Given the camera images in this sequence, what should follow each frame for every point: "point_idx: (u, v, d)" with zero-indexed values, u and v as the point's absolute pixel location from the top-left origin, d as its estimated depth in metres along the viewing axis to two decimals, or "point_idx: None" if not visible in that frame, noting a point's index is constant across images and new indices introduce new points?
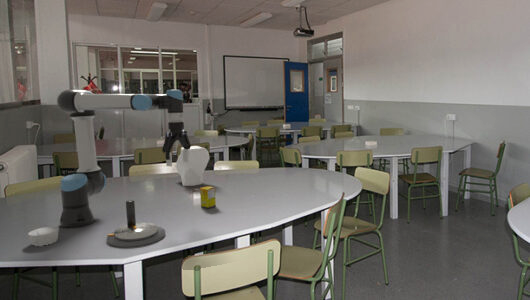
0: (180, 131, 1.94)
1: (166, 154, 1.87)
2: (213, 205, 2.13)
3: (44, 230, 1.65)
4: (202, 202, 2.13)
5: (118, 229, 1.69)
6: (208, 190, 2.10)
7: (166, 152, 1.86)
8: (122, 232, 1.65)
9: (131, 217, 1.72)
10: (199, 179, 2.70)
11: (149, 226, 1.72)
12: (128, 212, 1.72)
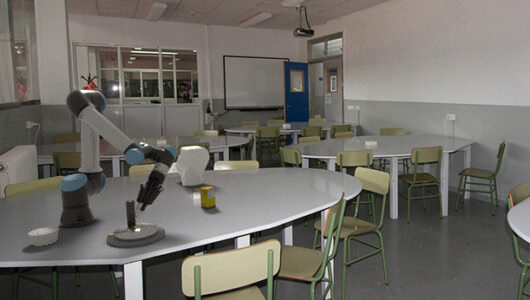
0: (157, 180, 1.85)
1: None
2: (213, 205, 2.13)
3: (44, 230, 1.65)
4: (202, 202, 2.13)
5: (118, 229, 1.69)
6: (208, 190, 2.10)
7: (138, 202, 1.81)
8: (122, 232, 1.65)
9: (131, 217, 1.72)
10: (199, 179, 2.70)
11: (149, 226, 1.72)
12: (128, 212, 1.72)
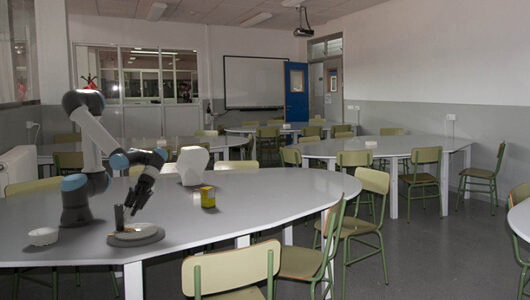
0: (147, 184, 1.79)
1: None
2: (213, 205, 2.13)
3: (44, 230, 1.65)
4: (202, 202, 2.13)
5: (120, 234, 1.63)
6: (208, 190, 2.10)
7: (125, 206, 1.76)
8: (133, 233, 1.63)
9: (123, 220, 1.68)
10: (199, 179, 2.70)
11: (139, 224, 1.75)
12: (120, 216, 1.67)
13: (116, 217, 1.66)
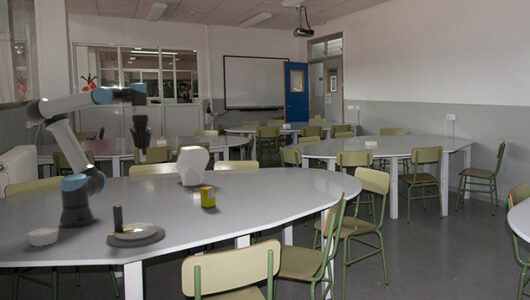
0: (143, 123, 1.91)
1: None
2: (213, 205, 2.13)
3: (44, 230, 1.65)
4: (202, 202, 2.13)
5: (124, 235, 1.61)
6: (208, 190, 2.10)
7: (137, 147, 1.96)
8: (138, 233, 1.63)
9: (122, 221, 1.66)
10: (199, 179, 2.70)
11: (134, 225, 1.74)
12: (120, 217, 1.65)
13: (116, 219, 1.64)
